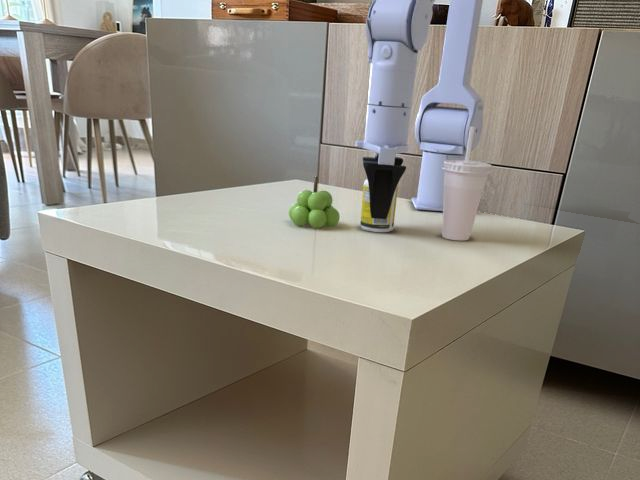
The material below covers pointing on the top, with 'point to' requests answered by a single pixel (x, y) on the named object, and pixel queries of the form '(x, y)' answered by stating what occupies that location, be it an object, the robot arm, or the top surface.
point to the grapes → (314, 208)
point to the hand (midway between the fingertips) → (378, 214)
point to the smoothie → (462, 193)
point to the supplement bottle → (374, 223)
